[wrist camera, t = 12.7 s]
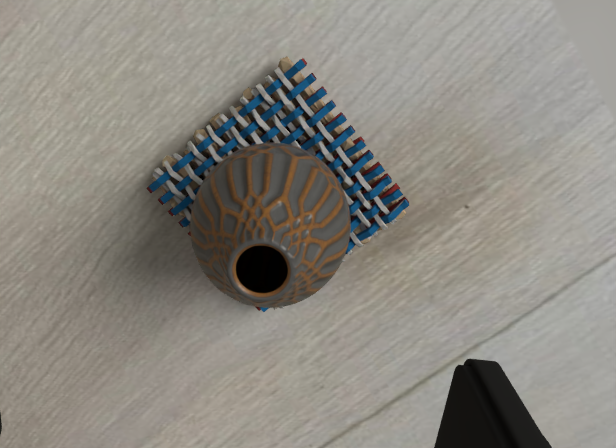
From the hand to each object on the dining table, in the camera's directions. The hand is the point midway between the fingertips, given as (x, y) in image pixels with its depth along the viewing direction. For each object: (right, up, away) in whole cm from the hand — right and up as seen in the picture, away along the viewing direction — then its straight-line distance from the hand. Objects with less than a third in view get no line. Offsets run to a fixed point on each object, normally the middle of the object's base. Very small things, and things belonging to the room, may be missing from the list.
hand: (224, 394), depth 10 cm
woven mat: (0, +5, +17) cm, 18 cm away
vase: (0, +5, +15) cm, 16 cm away
